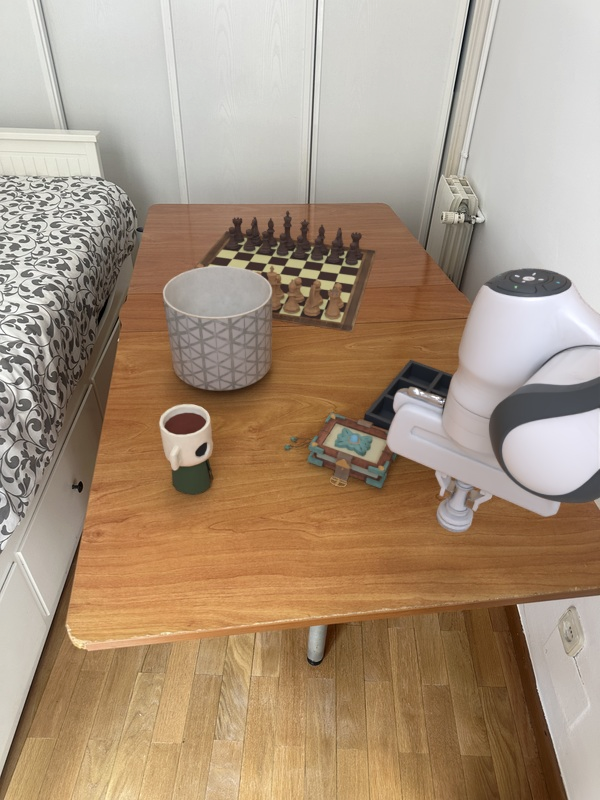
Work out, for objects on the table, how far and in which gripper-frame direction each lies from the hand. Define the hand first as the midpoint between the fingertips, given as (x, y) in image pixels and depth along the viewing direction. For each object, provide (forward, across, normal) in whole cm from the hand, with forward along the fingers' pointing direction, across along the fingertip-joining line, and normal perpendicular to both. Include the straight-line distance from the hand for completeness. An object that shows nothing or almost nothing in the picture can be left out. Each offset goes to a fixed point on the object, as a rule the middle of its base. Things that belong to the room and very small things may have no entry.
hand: (459, 500), depth 66 cm
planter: (+12, -52, +17) cm, 56 cm away
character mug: (+12, -38, -8) cm, 40 cm away
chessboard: (+12, -67, +59) cm, 90 cm away
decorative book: (+13, -22, +10) cm, 27 cm away
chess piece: (+4, 0, 0) cm, 4 cm away
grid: (+13, -12, +28) cm, 33 cm away
